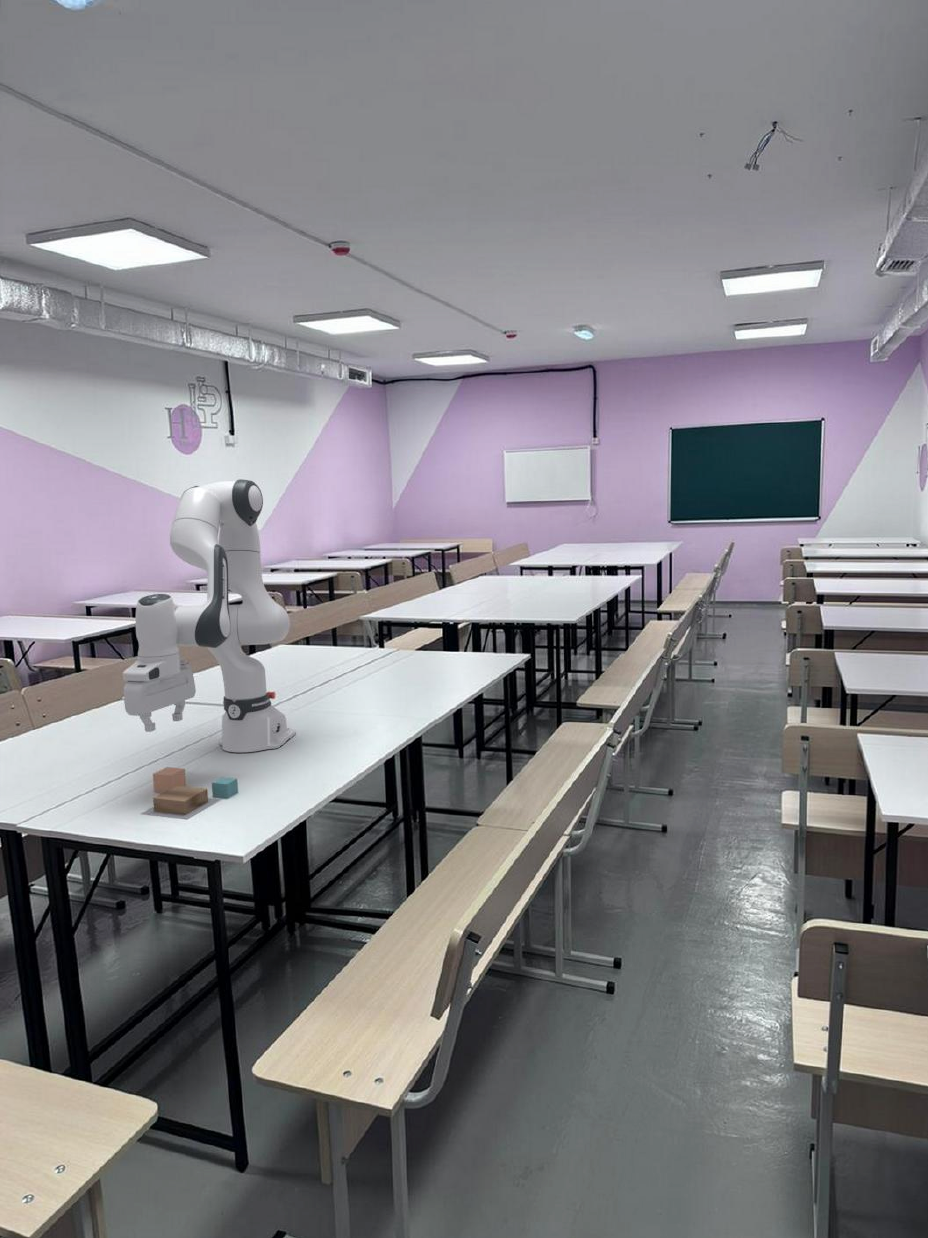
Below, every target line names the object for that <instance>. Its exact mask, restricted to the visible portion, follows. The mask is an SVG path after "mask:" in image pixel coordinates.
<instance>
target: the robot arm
mask: <svg viewBox="0 0 928 1238" xmlns="http://www.w3.org/2000/svg"><path fill="white" fill-rule="evenodd" d="M263 506H264V498H263V494H262V490H261V489H260V487H259V486H258V485H257V484H256V482H254V481H253V480H249V479H243V478H241V479H237V480H221V481H220V480H219V481H215V482H212V483H205V484H203V485H194V486H192V487H190V488H187V489H186V490H185V491H183V492H182V495H181V496H180V500H179V502H178V504H177V507H176V510H175V513H174V516H173V520H172V524H171V529H170V534H169V545H170V547H171V550H172V551H173V553H174V554H175V555H176V556H177V558H179V559H180V560H182V561H183V562H185V563H187V564H189V565H190V566H194V567H196V568H199V569H202V570H204V571H205V572H206V574H207V575H206V576H207V577H206V579H207V582H206V583H207V584H206V585H207V588H206V590H207V591H206V592H207V593H206V594H207V597H206V598H207V599H206V601H205V602H204V603H203V604H199V605H197V604H196V605H195V604H194V605H182V604H181V605H180V604H177V603H174V600H173V598H172V595H170V594H166V593H153V594H148V595H146V596H142V597H141V598H140V599H138V600H137V603H136V608H135V635H136V640H137V642H138V651H137V660H136V661H134V663H133V664H131V665H130V666H129V667H128V668H126V669H125V670H124V671H122V679H123V681H125V684H124V686H123V701H124V704H123V705H124V709H125V712H126V713H127V715H128V716H135V717H139V719H140V720H141V722H142V723H143V724H144V725H143V726H144V732H146V733H151V732H154V731H156V729H157V727H156V722H153V720H152V719H151V717H152V713H154V712H155V711H158V710H161V709H164V708H167V707H169V706H172V705H173V706H175V708H174V712H173V713H172V714H171V717H172V721H173V722H181V721H182V720H183V717H184V716H183V713H184V709H185V707H186V701H187V700H189V699H192V698H194V697H195V695H196V692H197V691H196V690H197V689H196V683H195V677H194V673H193V671H192V669H191V668H192V667H191V664H190V663H189V661H187V660H186V659H181V660H180V657H181V656H180V649H179V647H202V648H206V649H207V650H208V651H210V653H211V654H212V655H213V656H214V657H215V659H216V661H217V662H218V664H219V666H220V670H221V675H222V681H223V688H224V689H223V690H224V696H223V701H222V703H223V711H225V712H224V713H223V714H222V718H221V720H222V721H221V723H222V725H221V739H218V744H219V745H220V746H221V748H222V750H224V751H225V752H228V753H255V752H260V751H264V750H273V749H279V748H280V746H281V745H282V746H284V744H285V743H287V742H288V741H289V740H290V739H291V738H293V737H294V736H295V735H296V733H297V732H296V730H295V729H293V728H289V727H288V725H287V724H288V723H287V717H286V715H285V714H284V713H283V712H281V711H280V710H279V709H278V708H276V707H275V706H273V705H272V701H271V700H275V698H276V692H275V691H267V680H266V679H267V678H266V668H265V666H264V664H263V663H262V662H261V661H259V660H258V659H257V658H254V657H252V656H249V655H248V654H246V653H245V652H244V650H243V649H242V647H243V646H252V645H253V646H255V645H257V646H258V645H269V644H273V643H277V642H281V641H283V640H284V639H285V638H286V637H287V635H288V634H289V630H290V628H291V621H290V620H291V619H290V616H289V614H288V612H287V610H286V609H285V608H284V607H283V606H282V605H280V604H279V603H278V602H276V601H275V600H274V599H273V598H272V596H270V594H269V593H268V591H267V589H266V587H265V585H264V580H263V574H262V560H261V559H262V558H261V542H260V536H259V529H258V526H257V521H258V518H259V517H260V514H261V513H262V510H263ZM229 591H231V592H233V593H235V594H237V595H239V596H240V597H241V599H242V603H241V604H229ZM289 738H290V739H289ZM288 739H289V740H288ZM287 740H288V741H287ZM286 741H287V742H286ZM282 746H281V747H282Z"/></svg>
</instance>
